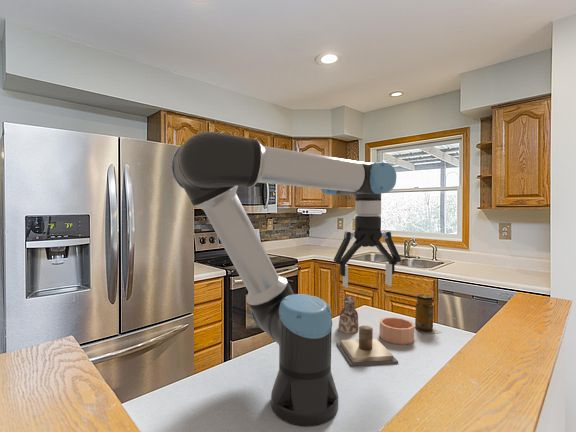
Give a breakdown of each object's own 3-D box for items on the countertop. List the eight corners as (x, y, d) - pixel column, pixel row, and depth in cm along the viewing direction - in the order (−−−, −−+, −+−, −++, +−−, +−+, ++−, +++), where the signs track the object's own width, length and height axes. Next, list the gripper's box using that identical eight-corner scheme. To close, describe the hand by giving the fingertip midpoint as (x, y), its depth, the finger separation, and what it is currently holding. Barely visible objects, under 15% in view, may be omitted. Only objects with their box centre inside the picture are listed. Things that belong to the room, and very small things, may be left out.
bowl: (388, 345, 104) (388, 330, 103) (374, 331, 114) (374, 318, 114) (420, 343, 105) (420, 328, 105) (403, 330, 116) (404, 316, 116)
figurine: (338, 332, 114) (338, 298, 113) (338, 325, 121) (338, 293, 120) (359, 333, 113) (359, 299, 112) (357, 326, 120) (358, 294, 119)
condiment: (426, 324, 123) (427, 293, 122) (441, 333, 114) (442, 299, 114) (409, 325, 121) (410, 294, 121) (423, 334, 113) (424, 300, 112)
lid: (353, 362, 91) (353, 337, 91) (340, 343, 103) (340, 321, 103) (393, 359, 93) (393, 335, 92) (376, 342, 105) (376, 320, 104)
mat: (350, 366, 90) (350, 364, 90) (336, 344, 104) (336, 342, 104) (398, 363, 92) (398, 361, 92) (377, 342, 106) (377, 340, 106)
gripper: (401, 214, 102) (400, 281, 103) (324, 215, 98) (323, 283, 99) (413, 215, 94) (412, 287, 95) (330, 215, 91) (330, 290, 92)
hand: (367, 285), depth 97 cm, fingers open, 13 cm apart
